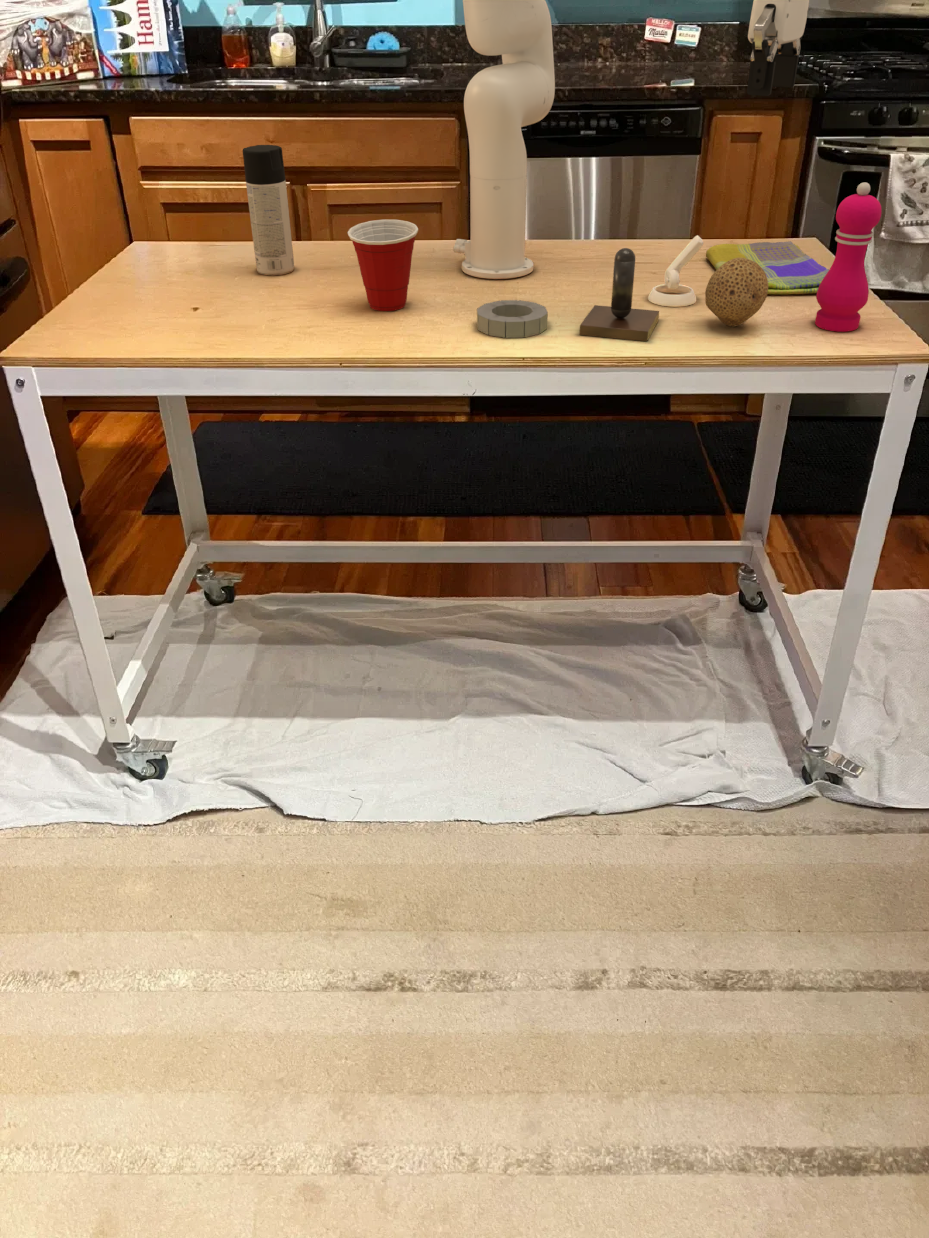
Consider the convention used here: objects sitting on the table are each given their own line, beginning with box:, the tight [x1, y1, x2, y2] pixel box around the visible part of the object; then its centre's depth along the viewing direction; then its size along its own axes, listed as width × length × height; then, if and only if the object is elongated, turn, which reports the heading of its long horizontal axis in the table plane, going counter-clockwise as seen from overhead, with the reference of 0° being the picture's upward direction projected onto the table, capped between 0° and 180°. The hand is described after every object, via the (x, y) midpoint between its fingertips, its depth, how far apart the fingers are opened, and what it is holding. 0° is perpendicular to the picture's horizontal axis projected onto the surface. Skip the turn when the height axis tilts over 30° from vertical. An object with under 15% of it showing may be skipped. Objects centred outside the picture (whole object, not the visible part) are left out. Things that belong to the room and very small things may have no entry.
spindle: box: [579, 247, 660, 342], centre depth 148 cm, size 10×10×12 cm
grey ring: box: [476, 299, 549, 339], centre depth 152 cm, size 10×10×2 cm
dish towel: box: [705, 240, 830, 295], centre depth 173 cm, size 18×24×3 cm
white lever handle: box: [647, 234, 704, 308], centre depth 160 cm, size 8×12×7 cm
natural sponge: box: [704, 258, 768, 328], centre depth 148 cm, size 9×9×10 cm
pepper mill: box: [814, 182, 882, 333], centre depth 146 cm, size 7×7×20 cm
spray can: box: [242, 144, 295, 276], centre depth 173 cm, size 7×7×20 cm
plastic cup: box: [347, 219, 419, 312], centre depth 158 cm, size 11×11×12 cm
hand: (770, 91), depth 140 cm, fingers open, 9 cm apart
